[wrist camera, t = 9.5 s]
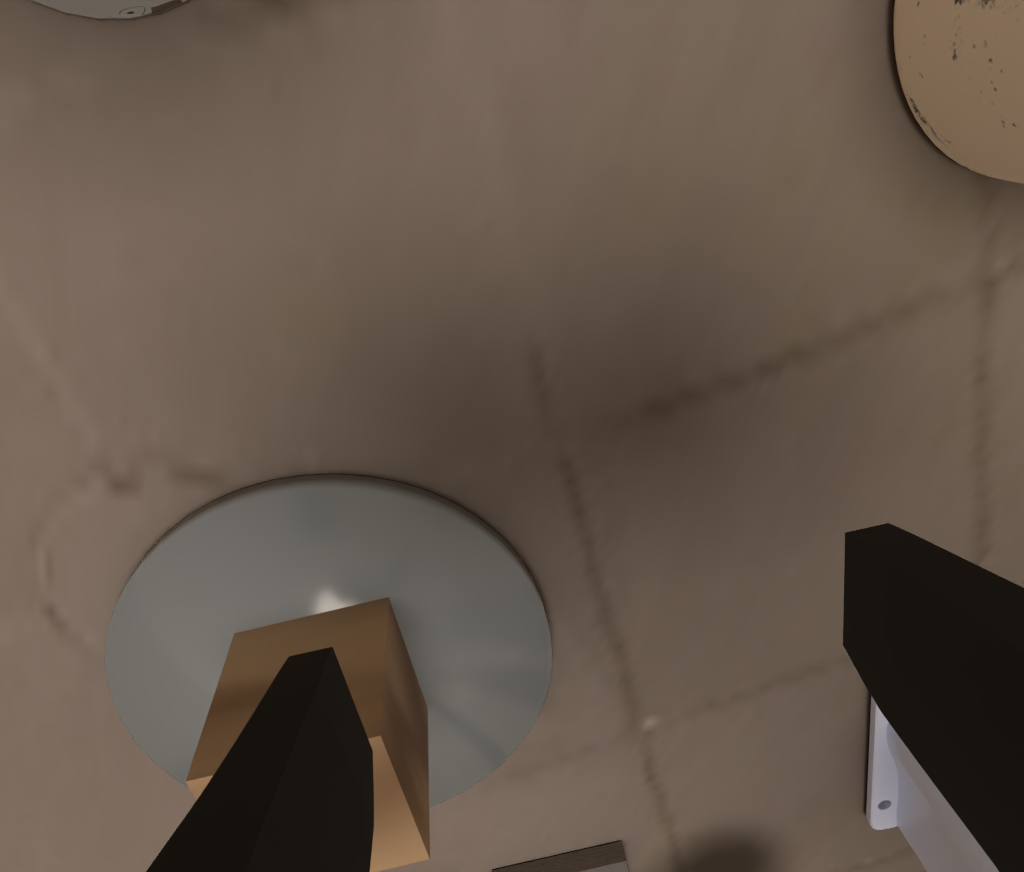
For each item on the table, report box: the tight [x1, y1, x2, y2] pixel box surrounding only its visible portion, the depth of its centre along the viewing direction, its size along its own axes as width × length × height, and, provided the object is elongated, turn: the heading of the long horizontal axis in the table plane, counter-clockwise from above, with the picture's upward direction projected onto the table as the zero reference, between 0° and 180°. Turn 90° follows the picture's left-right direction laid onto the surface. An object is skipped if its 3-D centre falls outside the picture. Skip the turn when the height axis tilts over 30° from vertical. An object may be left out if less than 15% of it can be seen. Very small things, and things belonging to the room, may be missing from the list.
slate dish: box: [105, 474, 553, 807], centre depth 23 cm, size 13×13×1 cm
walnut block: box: [186, 597, 430, 872], centre depth 20 cm, size 4×4×5 cm
